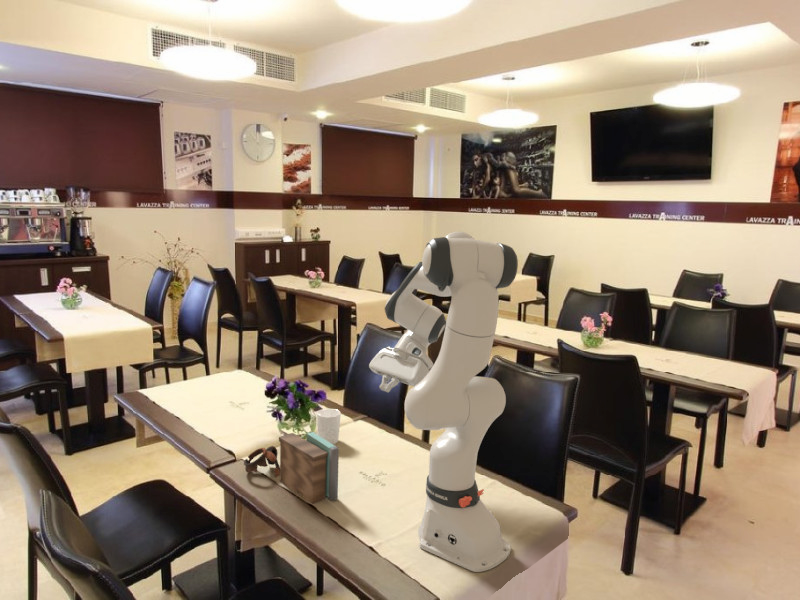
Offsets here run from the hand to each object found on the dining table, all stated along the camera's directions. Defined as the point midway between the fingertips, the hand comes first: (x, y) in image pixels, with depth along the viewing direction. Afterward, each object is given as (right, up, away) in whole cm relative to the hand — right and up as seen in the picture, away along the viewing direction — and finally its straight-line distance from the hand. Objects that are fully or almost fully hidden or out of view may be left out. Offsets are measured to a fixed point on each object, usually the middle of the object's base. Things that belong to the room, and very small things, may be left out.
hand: (383, 390), depth 162 cm
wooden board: (-22, -26, -9) cm, 35 cm away
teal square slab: (-17, -26, -9) cm, 32 cm away
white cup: (-19, -21, +24) cm, 37 cm away
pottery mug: (-35, -24, +1) cm, 43 cm away
